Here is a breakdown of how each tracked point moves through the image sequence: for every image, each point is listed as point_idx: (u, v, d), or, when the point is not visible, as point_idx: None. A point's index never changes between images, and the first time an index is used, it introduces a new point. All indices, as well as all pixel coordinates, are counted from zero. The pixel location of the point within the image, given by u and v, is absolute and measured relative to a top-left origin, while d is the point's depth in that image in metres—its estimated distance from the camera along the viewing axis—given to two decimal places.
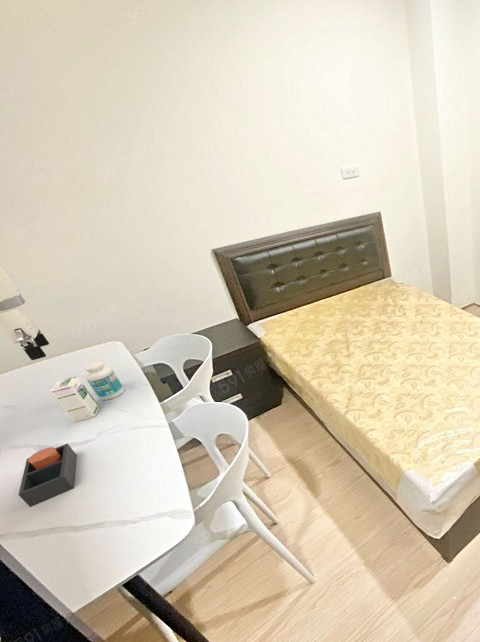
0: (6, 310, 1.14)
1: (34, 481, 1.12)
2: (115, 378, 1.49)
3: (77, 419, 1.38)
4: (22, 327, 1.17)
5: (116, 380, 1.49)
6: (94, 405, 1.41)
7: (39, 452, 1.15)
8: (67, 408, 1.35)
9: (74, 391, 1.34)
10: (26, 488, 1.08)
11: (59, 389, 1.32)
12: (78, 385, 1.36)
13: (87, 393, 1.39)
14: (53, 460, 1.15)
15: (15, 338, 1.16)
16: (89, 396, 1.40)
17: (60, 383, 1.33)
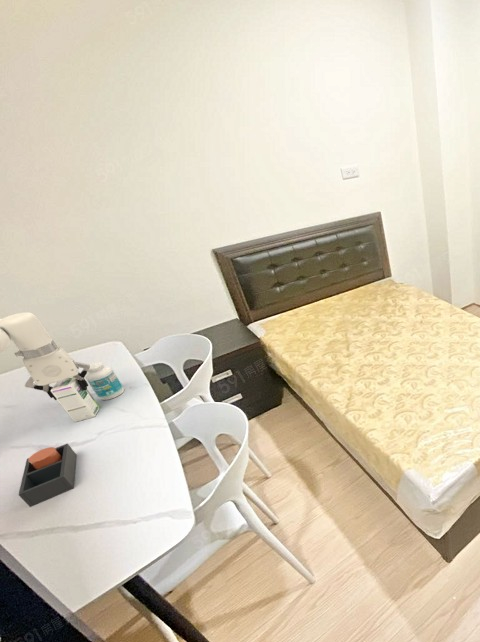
0: (57, 347, 1.30)
1: (34, 481, 1.12)
2: (115, 378, 1.49)
3: (77, 419, 1.38)
4: (72, 359, 1.34)
5: (116, 380, 1.49)
6: (94, 405, 1.41)
7: (39, 452, 1.15)
8: (67, 408, 1.35)
9: (74, 391, 1.34)
10: (26, 488, 1.08)
11: (60, 389, 1.32)
12: (79, 385, 1.36)
13: (87, 393, 1.39)
14: (53, 460, 1.15)
15: (77, 368, 1.34)
16: (89, 396, 1.40)
17: (61, 383, 1.33)
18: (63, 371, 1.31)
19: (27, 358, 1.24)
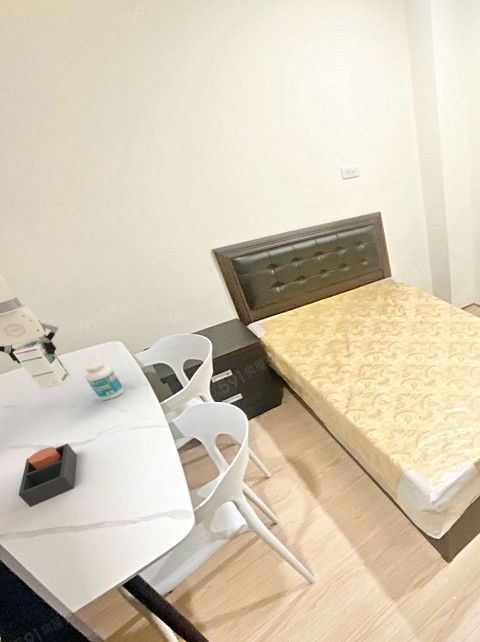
0: (21, 305, 1.19)
1: (34, 481, 1.12)
2: (115, 378, 1.49)
3: (43, 386, 1.27)
4: (38, 319, 1.23)
5: (116, 380, 1.49)
6: (63, 371, 1.30)
7: (39, 452, 1.15)
8: (32, 373, 1.24)
9: (40, 354, 1.23)
10: (26, 488, 1.08)
11: (24, 351, 1.21)
12: (45, 348, 1.25)
13: (55, 358, 1.29)
14: (53, 460, 1.15)
15: (43, 329, 1.23)
16: (57, 361, 1.29)
17: (25, 345, 1.23)
18: (27, 331, 1.20)
19: None
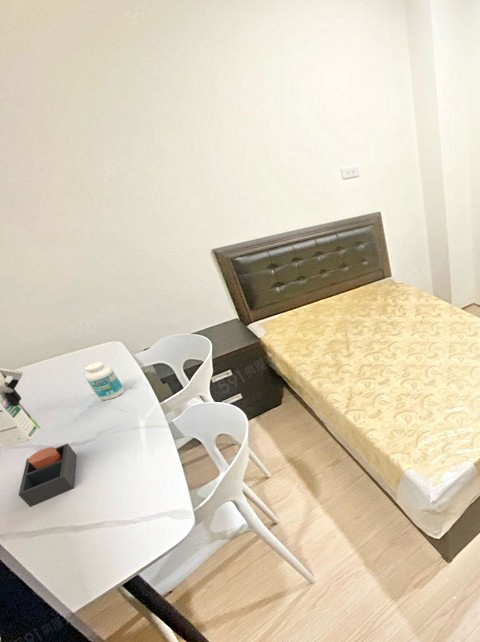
0: None
1: (34, 481, 1.12)
2: (115, 378, 1.49)
3: (6, 444, 1.04)
4: None
5: (116, 380, 1.49)
6: (30, 425, 1.07)
7: (39, 452, 1.15)
8: None
9: None
10: (26, 488, 1.08)
11: None
12: (7, 399, 1.03)
13: (20, 409, 1.06)
14: (53, 460, 1.15)
15: (3, 377, 1.00)
16: (23, 413, 1.06)
17: None
18: None
19: None
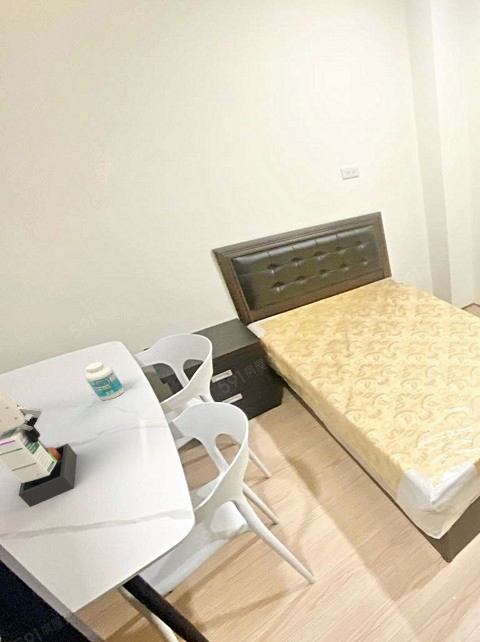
0: None
1: (34, 481, 1.12)
2: (115, 378, 1.49)
3: (25, 479, 1.06)
4: (17, 403, 1.02)
5: (116, 380, 1.49)
6: (49, 460, 1.10)
7: None
8: (11, 467, 1.04)
9: (20, 445, 1.02)
10: (26, 488, 1.08)
11: (0, 444, 1.00)
12: (26, 436, 1.05)
13: (39, 445, 1.08)
14: None
15: (23, 416, 1.02)
16: (42, 448, 1.09)
17: (2, 435, 1.02)
18: (3, 421, 0.99)
19: None
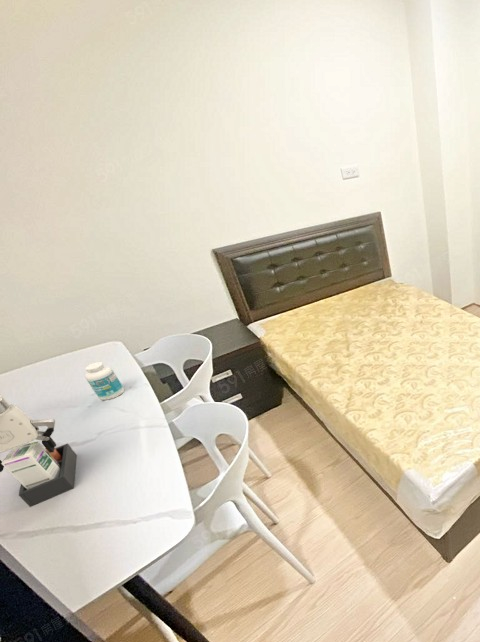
0: (9, 406, 1.01)
1: None
2: (115, 378, 1.49)
3: None
4: (30, 419, 1.05)
5: (116, 380, 1.49)
6: None
7: None
8: (25, 483, 1.07)
9: (33, 462, 1.05)
10: None
11: (14, 461, 1.03)
12: (40, 452, 1.08)
13: (52, 461, 1.11)
14: None
15: (35, 431, 1.05)
16: (54, 464, 1.12)
17: (16, 452, 1.05)
18: (17, 436, 1.02)
19: None
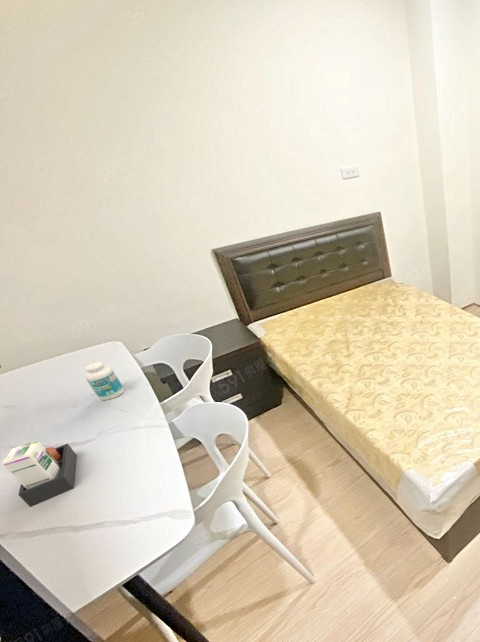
0: None
1: None
2: (115, 378, 1.49)
3: None
4: None
5: (116, 380, 1.49)
6: None
7: None
8: (25, 483, 1.07)
9: (33, 462, 1.05)
10: None
11: (14, 461, 1.03)
12: (39, 452, 1.08)
13: (52, 461, 1.11)
14: None
15: None
16: (54, 464, 1.11)
17: (16, 452, 1.05)
18: None
19: None
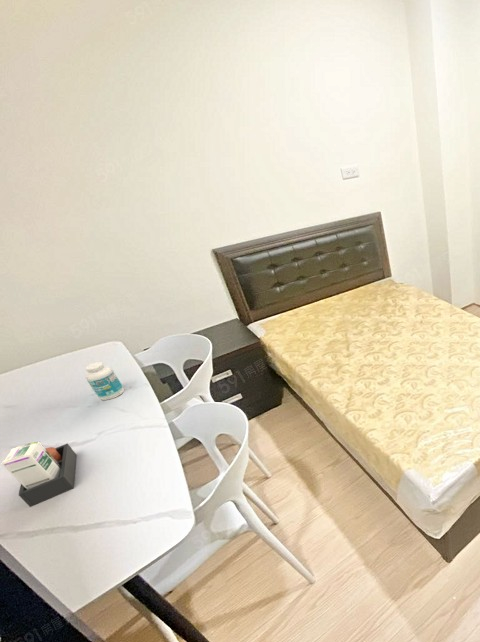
0: None
1: None
2: (115, 378, 1.49)
3: None
4: None
5: (116, 380, 1.49)
6: None
7: None
8: (25, 483, 1.07)
9: (33, 462, 1.05)
10: None
11: (14, 461, 1.03)
12: (39, 452, 1.08)
13: (52, 461, 1.11)
14: None
15: None
16: (54, 464, 1.11)
17: (16, 452, 1.05)
18: None
19: None
